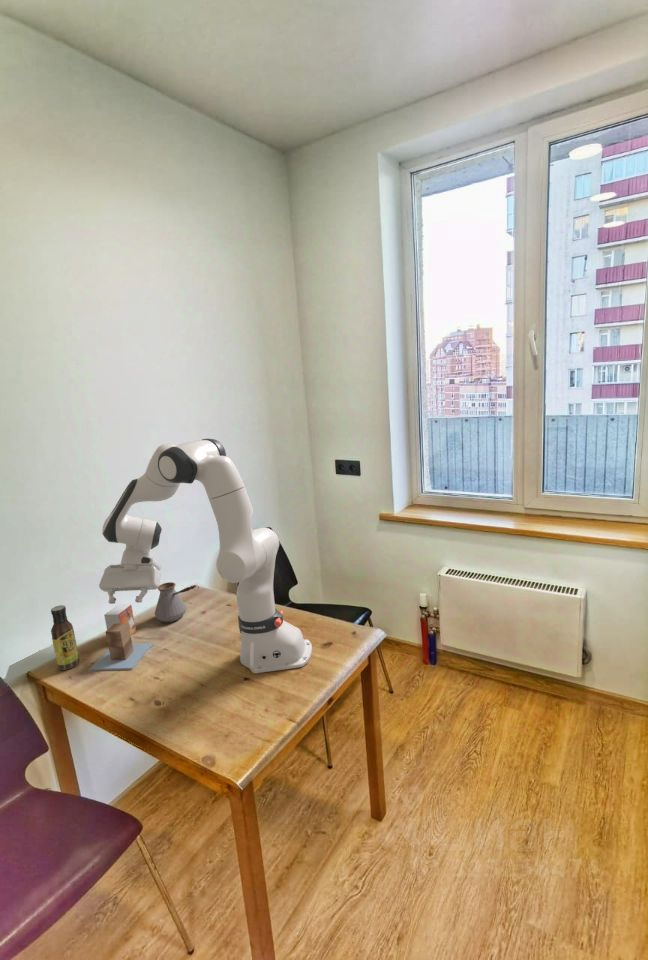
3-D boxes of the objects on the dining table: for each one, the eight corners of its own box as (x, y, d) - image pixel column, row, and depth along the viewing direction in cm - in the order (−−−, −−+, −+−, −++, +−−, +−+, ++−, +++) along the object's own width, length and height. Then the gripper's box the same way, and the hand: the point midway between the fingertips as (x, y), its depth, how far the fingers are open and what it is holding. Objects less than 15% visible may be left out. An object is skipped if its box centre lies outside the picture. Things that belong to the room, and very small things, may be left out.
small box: (123, 642, 162) (117, 614, 160) (109, 642, 163) (103, 614, 161) (136, 630, 170) (131, 603, 168) (123, 630, 171) (117, 603, 169)
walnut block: (133, 650, 155) (128, 623, 153) (125, 659, 150) (120, 631, 148) (119, 651, 156) (113, 623, 154) (111, 660, 151) (105, 631, 149)
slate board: (152, 644, 159) (152, 643, 159) (132, 669, 145) (131, 667, 145) (114, 645, 161) (113, 644, 161) (90, 670, 147) (89, 668, 147)
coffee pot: (149, 622, 175) (142, 584, 172) (172, 608, 185) (166, 572, 182) (191, 632, 165) (185, 592, 162) (213, 616, 175) (208, 579, 172)
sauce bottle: (68, 672, 147) (55, 614, 143) (53, 670, 149) (40, 612, 145) (84, 660, 153) (72, 604, 149) (70, 658, 155) (58, 602, 151)
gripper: (101, 561, 163) (90, 600, 155) (157, 558, 160) (149, 598, 153) (110, 568, 168) (100, 606, 160) (165, 565, 165) (157, 604, 158)
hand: (124, 602), depth 156 cm, fingers open, 8 cm apart
